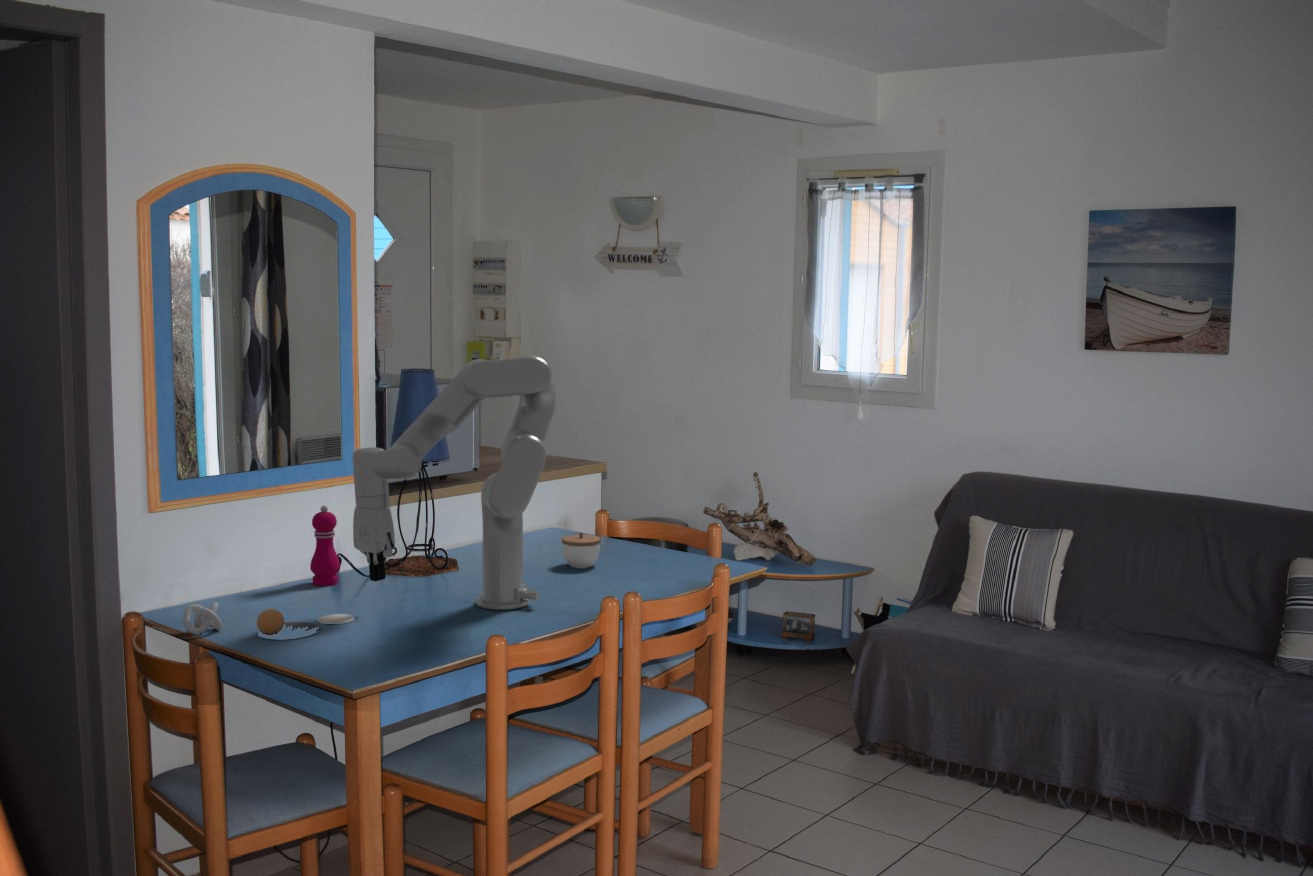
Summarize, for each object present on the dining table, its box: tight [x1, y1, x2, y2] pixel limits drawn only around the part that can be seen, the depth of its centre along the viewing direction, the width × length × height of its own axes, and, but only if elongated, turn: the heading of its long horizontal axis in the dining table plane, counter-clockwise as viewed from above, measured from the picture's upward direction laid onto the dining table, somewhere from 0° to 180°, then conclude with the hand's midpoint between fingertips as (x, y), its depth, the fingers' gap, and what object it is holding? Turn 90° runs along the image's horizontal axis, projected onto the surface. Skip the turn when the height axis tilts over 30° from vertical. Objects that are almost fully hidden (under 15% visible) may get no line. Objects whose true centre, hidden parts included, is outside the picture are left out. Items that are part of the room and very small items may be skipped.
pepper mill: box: [309, 505, 341, 587], centre depth 275 cm, size 7×7×20 cm
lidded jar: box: [561, 531, 602, 569], centre depth 300 cm, size 11×11×9 cm
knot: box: [182, 601, 223, 634], centre depth 234 cm, size 8×8×6 cm
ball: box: [256, 608, 285, 635], centre depth 232 cm, size 6×6×6 cm
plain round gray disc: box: [316, 613, 355, 625], centre depth 244 cm, size 8×8×1 cm
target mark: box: [284, 621, 321, 632], centre depth 235 cm, size 13×13×1 cm
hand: (377, 579), depth 251 cm, fingers closed
